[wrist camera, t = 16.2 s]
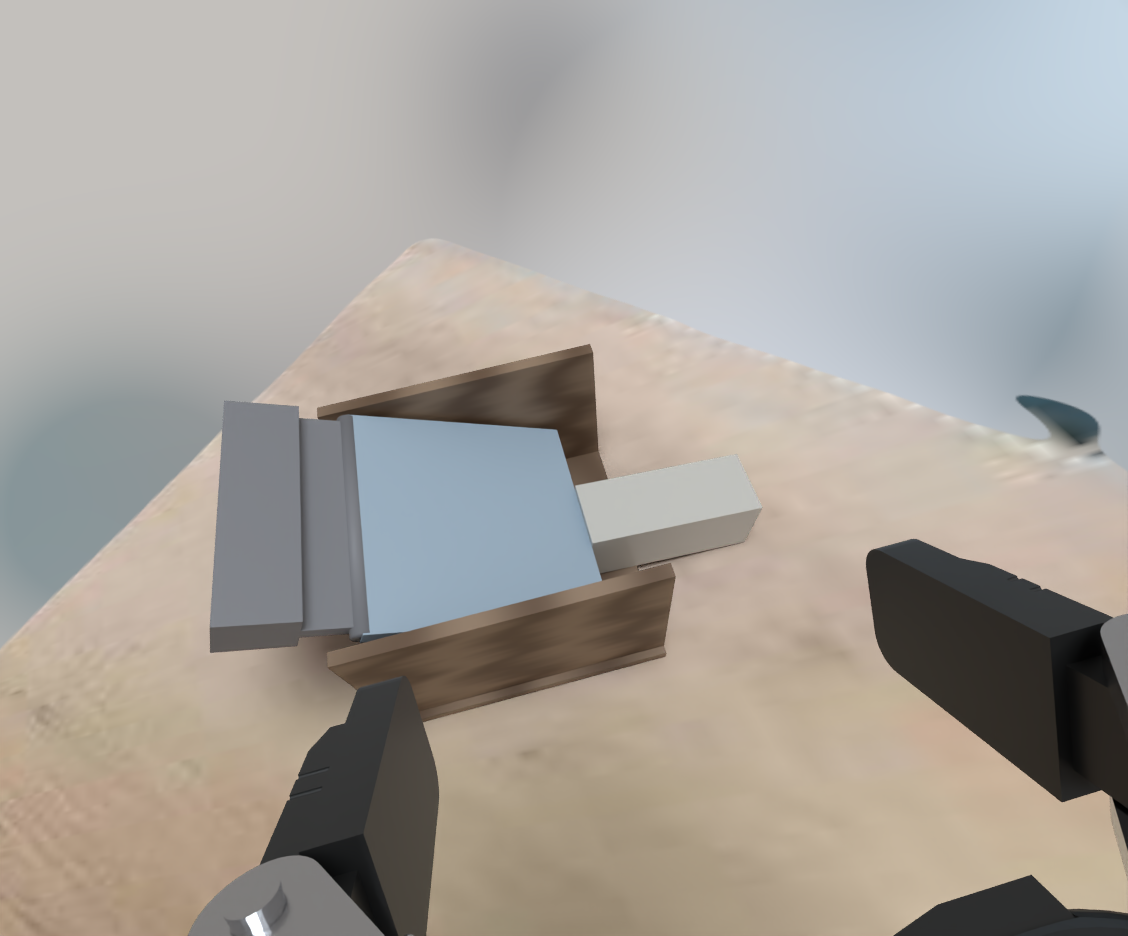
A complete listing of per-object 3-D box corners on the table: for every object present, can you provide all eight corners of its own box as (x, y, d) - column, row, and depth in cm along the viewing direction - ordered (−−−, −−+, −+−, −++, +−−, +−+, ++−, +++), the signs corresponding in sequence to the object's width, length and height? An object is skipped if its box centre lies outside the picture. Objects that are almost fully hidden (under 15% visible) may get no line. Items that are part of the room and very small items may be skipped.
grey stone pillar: (592, 543, 42) (762, 507, 44) (575, 485, 45) (736, 454, 47) (588, 575, 47) (744, 542, 48) (573, 521, 49) (721, 491, 51)
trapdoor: (209, 662, 32) (209, 637, 30) (224, 427, 40) (224, 394, 38) (599, 630, 42) (619, 609, 40) (547, 446, 50) (561, 421, 48)
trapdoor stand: (399, 728, 43) (327, 677, 33) (376, 497, 53) (316, 402, 43) (665, 656, 44) (678, 584, 34) (594, 444, 54) (587, 338, 44)
